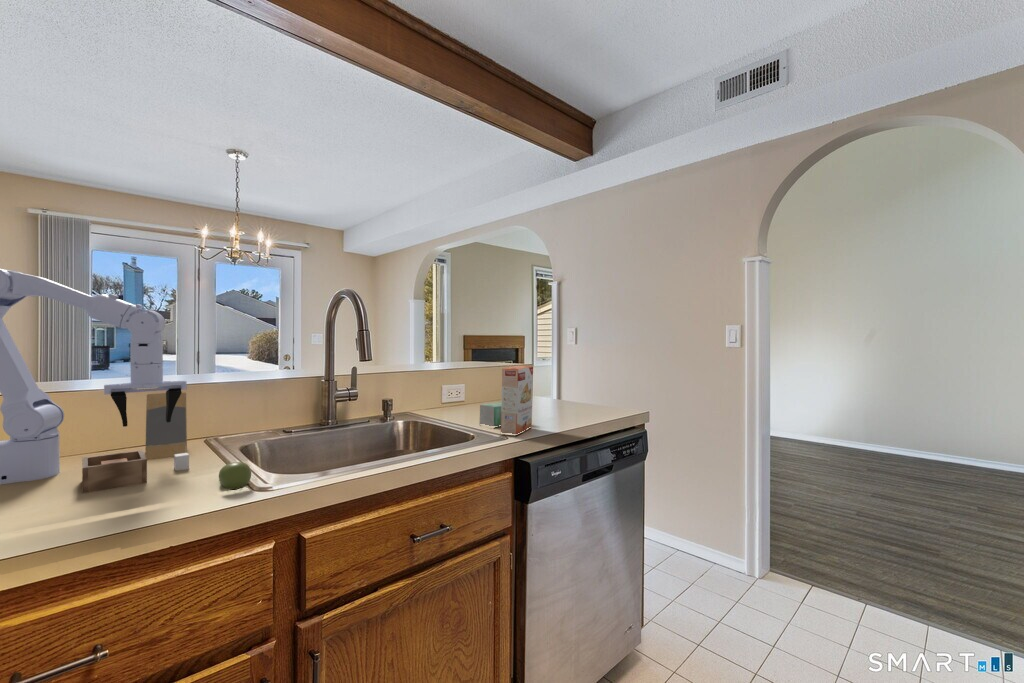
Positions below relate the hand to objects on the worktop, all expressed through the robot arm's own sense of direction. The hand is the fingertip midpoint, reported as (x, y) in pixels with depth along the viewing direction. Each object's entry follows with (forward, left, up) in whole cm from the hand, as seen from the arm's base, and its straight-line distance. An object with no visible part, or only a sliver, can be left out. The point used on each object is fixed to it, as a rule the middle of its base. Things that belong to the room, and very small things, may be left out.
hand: (147, 423), depth 105 cm
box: (+96, -12, -11) cm, 97 cm away
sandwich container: (+5, +12, -11) cm, 17 cm away
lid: (+6, -7, -11) cm, 14 cm away
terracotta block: (-6, -9, -10) cm, 14 cm away
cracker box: (+92, -24, -11) cm, 96 cm away
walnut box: (-6, -9, -10) cm, 15 cm away
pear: (+12, -24, -11) cm, 29 cm away
